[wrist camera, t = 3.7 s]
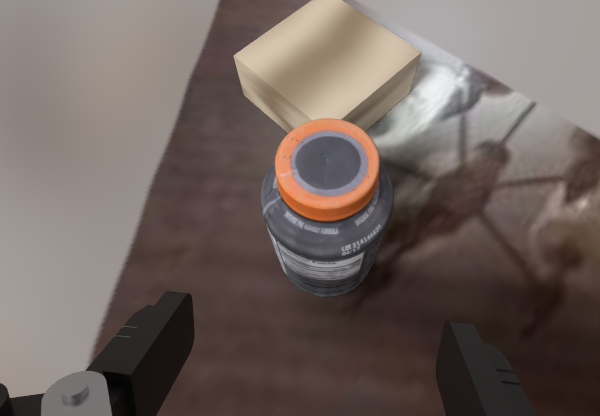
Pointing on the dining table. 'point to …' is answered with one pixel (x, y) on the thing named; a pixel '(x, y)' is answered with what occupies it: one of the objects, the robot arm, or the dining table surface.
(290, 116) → the maple block
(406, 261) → the dining table surface
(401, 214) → the dining table surface
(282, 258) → the pill bottle
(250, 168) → the dining table surface
